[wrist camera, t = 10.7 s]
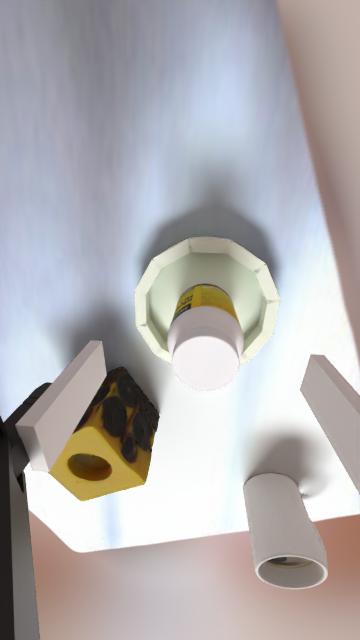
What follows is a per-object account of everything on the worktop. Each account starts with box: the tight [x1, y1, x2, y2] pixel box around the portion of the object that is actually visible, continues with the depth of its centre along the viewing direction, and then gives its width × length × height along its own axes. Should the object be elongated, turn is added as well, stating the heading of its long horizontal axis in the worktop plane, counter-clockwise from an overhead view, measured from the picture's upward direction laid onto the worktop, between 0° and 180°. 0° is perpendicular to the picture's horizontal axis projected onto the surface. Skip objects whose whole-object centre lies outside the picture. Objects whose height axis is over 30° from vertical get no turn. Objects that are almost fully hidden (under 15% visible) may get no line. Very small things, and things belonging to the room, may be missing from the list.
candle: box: [48, 367, 160, 501], centre depth 29 cm, size 10×10×10 cm
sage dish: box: [134, 236, 280, 365], centre depth 25 cm, size 15×15×3 cm
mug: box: [243, 473, 328, 589], centre depth 34 cm, size 11×10×10 cm
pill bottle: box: [167, 283, 244, 392], centre depth 20 cm, size 6×6×11 cm
